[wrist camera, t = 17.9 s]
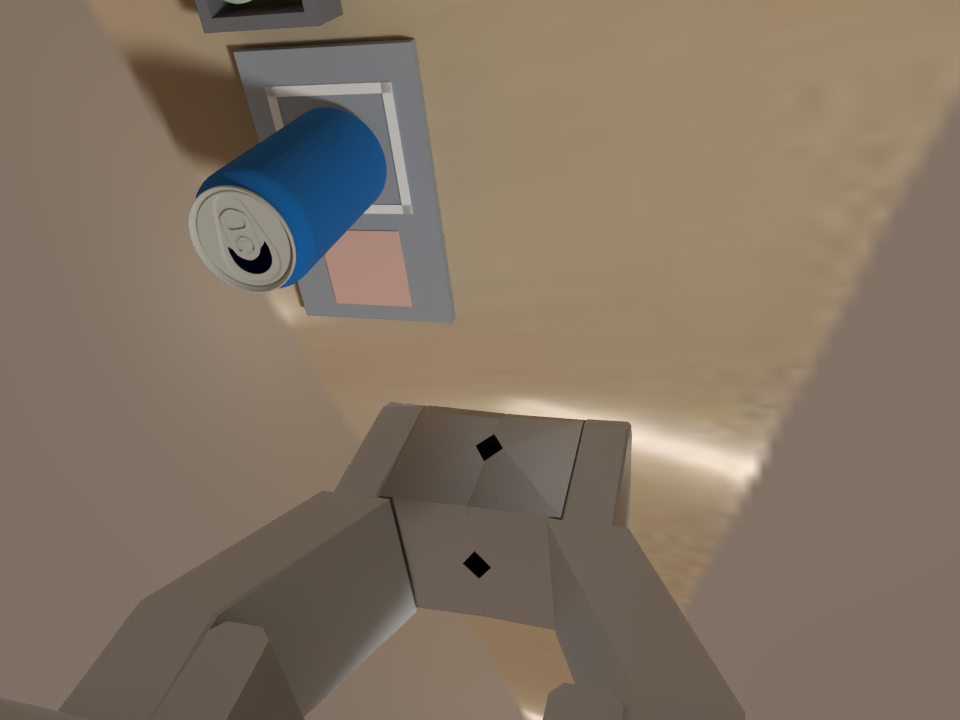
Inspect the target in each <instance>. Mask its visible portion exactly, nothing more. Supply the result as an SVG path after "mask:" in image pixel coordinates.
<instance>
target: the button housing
mask: <svg viewBox="0 0 960 720" xmlns="http://www.w3.org/2000/svg"><path fill="white" fill-rule="evenodd" d="M195 3H196V7H197V10H198V13H199V17H200V20H201V23H202V27H203V30H204V33H215V32H231V31H246V30H262V29H277V28H293V27H308V26H320V25H322V24H324V23H326V22H328V21H330V20H332V19H334V18H336V17H338V16H340V15H342V14H343V12H342V7H341V2H340V0H302V3H293V4H280V5H267V6H253V7H240V6H239V4H234V3H229V2H226V1H224V0H195Z"/></svg>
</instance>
